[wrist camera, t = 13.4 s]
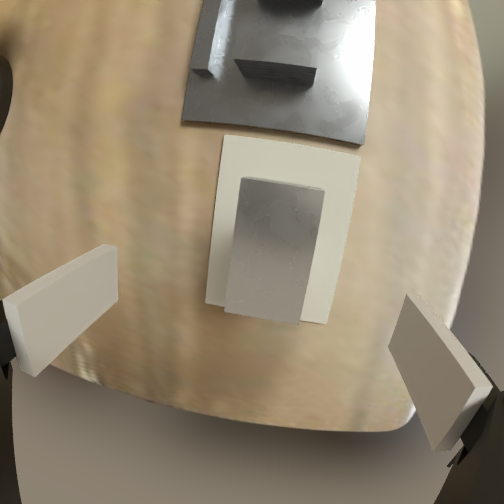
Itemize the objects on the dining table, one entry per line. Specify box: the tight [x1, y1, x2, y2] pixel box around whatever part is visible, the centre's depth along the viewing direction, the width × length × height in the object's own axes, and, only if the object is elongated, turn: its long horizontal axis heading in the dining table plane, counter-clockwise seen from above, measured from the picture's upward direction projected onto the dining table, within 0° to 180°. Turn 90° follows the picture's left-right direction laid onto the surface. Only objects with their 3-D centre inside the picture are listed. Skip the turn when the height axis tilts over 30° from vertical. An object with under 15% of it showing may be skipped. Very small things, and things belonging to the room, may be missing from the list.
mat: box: [205, 135, 361, 324], centre depth 28 cm, size 12×16×1 cm
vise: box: [182, 0, 375, 146], centre depth 20 cm, size 16×23×6 cm
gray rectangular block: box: [224, 176, 325, 325], centre depth 21 cm, size 4×7×12 cm, turn 172°
